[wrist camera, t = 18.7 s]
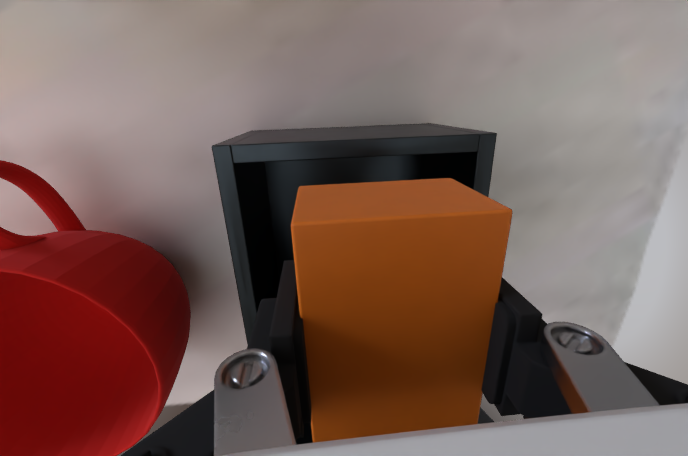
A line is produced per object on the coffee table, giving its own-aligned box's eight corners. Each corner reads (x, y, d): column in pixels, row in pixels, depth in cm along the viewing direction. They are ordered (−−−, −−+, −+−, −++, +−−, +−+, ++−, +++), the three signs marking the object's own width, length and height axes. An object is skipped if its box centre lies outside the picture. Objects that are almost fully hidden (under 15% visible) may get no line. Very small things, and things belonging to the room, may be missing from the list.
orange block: (297, 185, 10) (290, 222, 7) (451, 177, 10) (514, 209, 7) (315, 377, 13) (315, 469, 10) (434, 366, 13) (474, 451, 10)
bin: (250, 130, 22) (211, 145, 13) (430, 123, 22) (497, 133, 14) (276, 319, 27) (259, 411, 19) (419, 307, 28) (462, 390, 20)
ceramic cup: (181, 134, 21) (77, 156, 12) (233, 336, 27) (191, 453, 18) (-22, 152, 21) (-298, 189, 11) (78, 354, 27) (-48, 486, 17)
